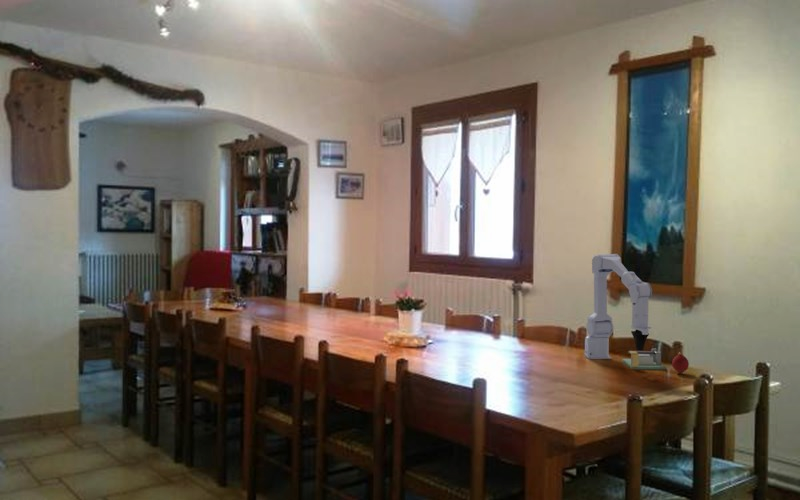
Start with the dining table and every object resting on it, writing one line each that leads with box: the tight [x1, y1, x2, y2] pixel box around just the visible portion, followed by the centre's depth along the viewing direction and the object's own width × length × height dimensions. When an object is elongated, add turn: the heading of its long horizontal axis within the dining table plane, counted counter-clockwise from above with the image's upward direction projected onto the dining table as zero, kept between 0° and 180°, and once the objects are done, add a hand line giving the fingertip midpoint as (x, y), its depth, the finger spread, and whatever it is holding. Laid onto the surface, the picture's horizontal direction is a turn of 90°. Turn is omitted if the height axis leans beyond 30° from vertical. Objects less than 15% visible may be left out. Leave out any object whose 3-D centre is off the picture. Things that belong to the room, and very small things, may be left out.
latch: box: [628, 350, 639, 367], centre depth 264 cm, size 2×4×5 cm, turn 176°
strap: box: [627, 350, 657, 355], centre depth 268 cm, size 11×4×1 cm, turn 86°
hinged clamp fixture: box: [621, 348, 666, 371], centre depth 268 cm, size 13×14×6 cm
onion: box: [671, 351, 690, 374], centre depth 255 cm, size 6×6×8 cm
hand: (639, 350), depth 256 cm, fingers closed
